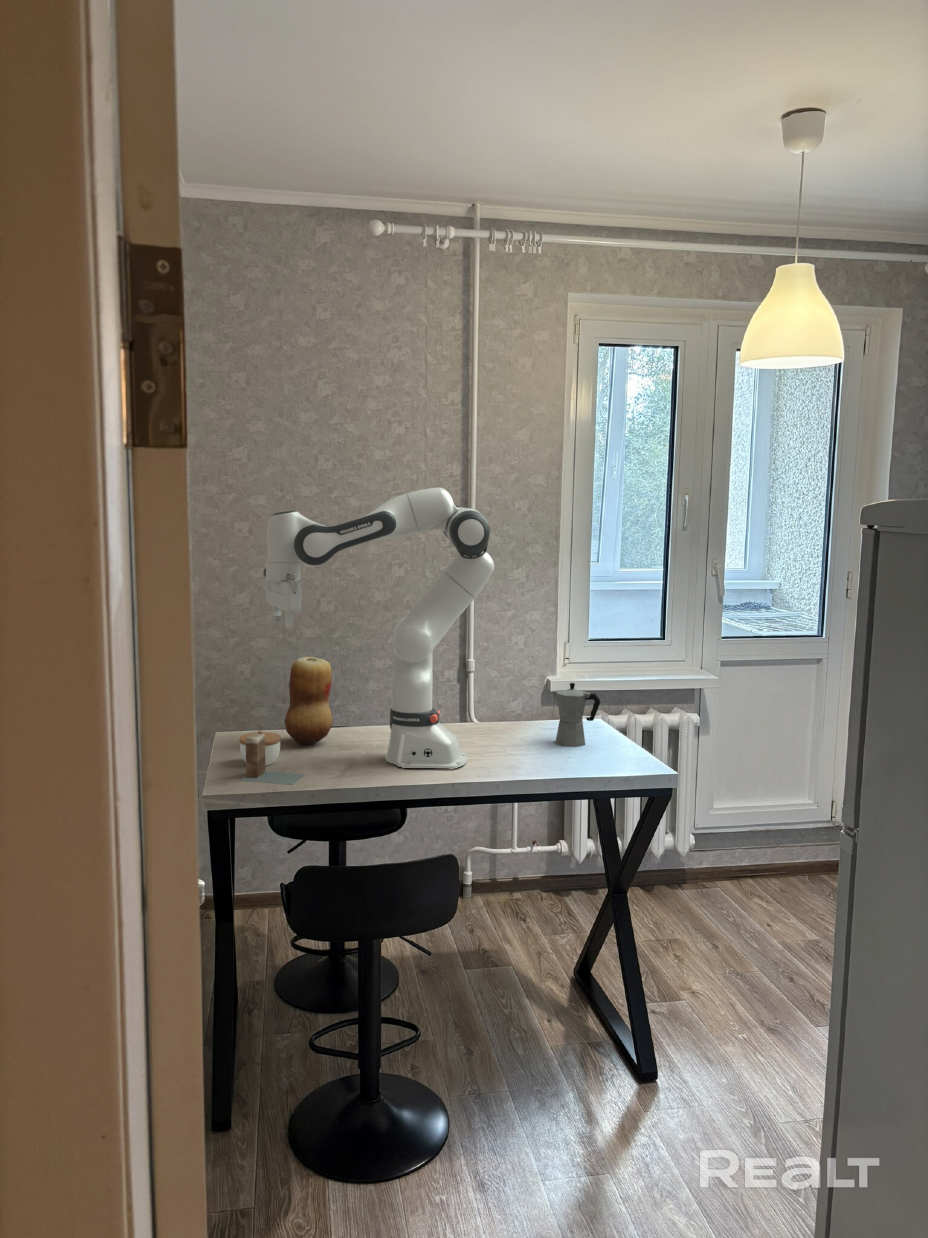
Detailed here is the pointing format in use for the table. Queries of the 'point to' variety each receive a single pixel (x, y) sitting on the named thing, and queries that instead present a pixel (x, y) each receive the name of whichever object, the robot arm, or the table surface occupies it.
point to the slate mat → (275, 778)
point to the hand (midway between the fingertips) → (283, 625)
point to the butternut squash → (309, 700)
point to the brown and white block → (255, 755)
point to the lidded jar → (270, 746)
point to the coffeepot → (573, 715)
